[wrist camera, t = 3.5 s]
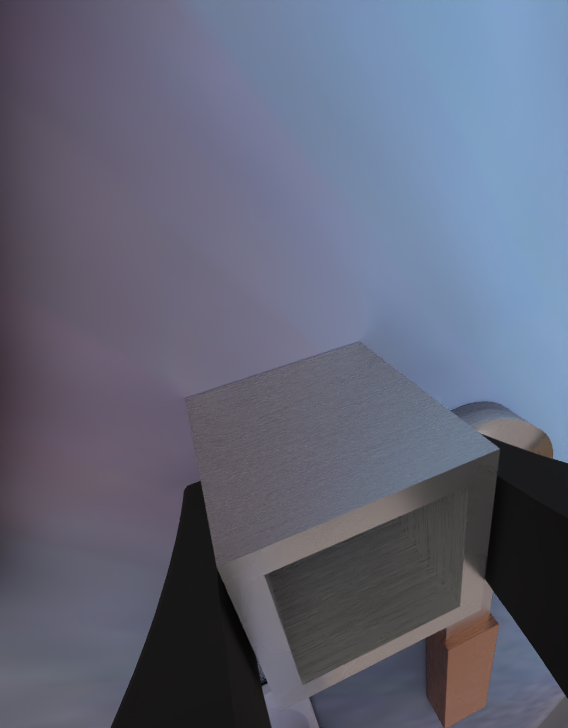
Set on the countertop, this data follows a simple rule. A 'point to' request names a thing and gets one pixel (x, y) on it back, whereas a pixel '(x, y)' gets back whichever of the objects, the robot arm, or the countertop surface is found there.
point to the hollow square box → (341, 513)
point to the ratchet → (479, 631)
